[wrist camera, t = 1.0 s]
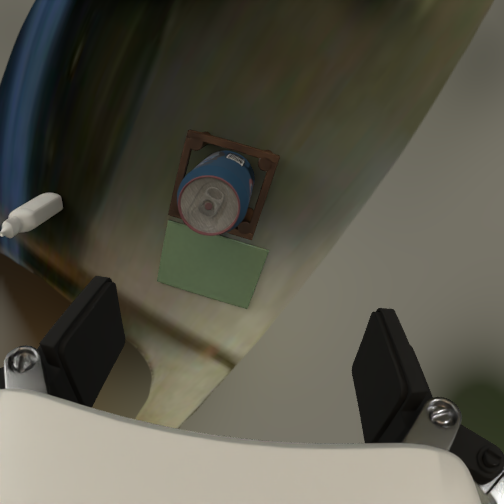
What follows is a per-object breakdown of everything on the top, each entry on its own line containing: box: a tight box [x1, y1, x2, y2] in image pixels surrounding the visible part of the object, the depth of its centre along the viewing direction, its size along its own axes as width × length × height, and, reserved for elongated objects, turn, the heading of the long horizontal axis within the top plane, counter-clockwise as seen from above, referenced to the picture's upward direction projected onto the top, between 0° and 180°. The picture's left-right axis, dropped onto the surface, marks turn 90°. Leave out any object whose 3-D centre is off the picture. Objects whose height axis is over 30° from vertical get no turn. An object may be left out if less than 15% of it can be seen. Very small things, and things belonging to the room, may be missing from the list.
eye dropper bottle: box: [0, 193, 63, 238], centre depth 37 cm, size 4×6×12 cm
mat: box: [157, 220, 269, 309], centre depth 45 cm, size 14×10×1 cm
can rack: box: [168, 130, 280, 240], centre depth 37 cm, size 10×10×5 cm
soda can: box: [177, 151, 255, 236], centre depth 34 cm, size 7×7×12 cm
